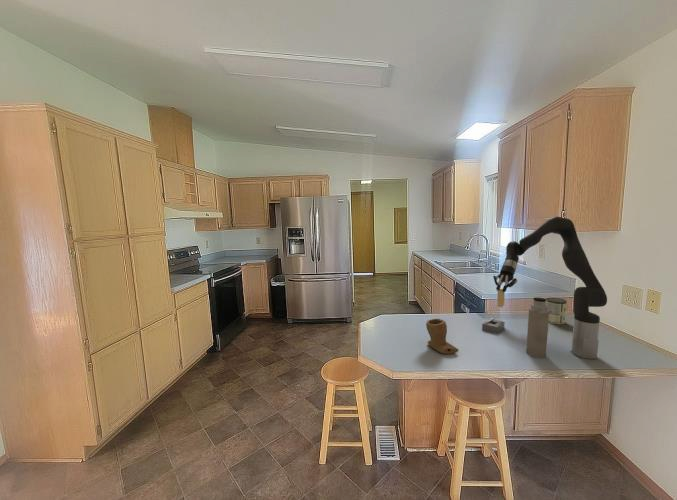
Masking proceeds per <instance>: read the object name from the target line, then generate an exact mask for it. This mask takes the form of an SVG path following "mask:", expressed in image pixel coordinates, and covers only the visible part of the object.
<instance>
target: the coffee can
mask: <svg viewBox="0 0 677 500" xmlns="http://www.w3.org/2000/svg"><path fill="white" fill-rule="evenodd" d="M545 299H546V301H545V302H546V305H547V306H548V309H547V310H548V311H549V321H548V323H550V324H554V325H565V324H566V314H567V313H566V311H567V310H566V308H567V300H566V299H564V298H559V297H545Z"/></svg>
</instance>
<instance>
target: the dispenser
mask: <svg viewBox="0 0 677 500" xmlns="http://www.w3.org/2000/svg"><path fill="white" fill-rule="evenodd" d="M505 322H506V321H502V320H498V319H495V318H494V317H492V318H489V319H487V320H486V321H484V322H483V323H482V324H481V329H482V330H483V331H486V332H490V333H494V334H498V333H499V332H501V331H502V330H503V329H505Z"/></svg>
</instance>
